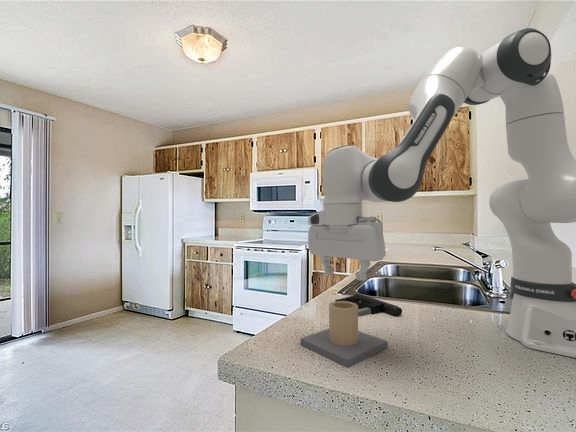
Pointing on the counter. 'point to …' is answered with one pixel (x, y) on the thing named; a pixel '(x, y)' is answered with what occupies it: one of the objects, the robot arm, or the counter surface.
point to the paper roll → (343, 323)
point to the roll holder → (344, 347)
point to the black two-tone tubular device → (372, 305)
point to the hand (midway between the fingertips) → (344, 277)
